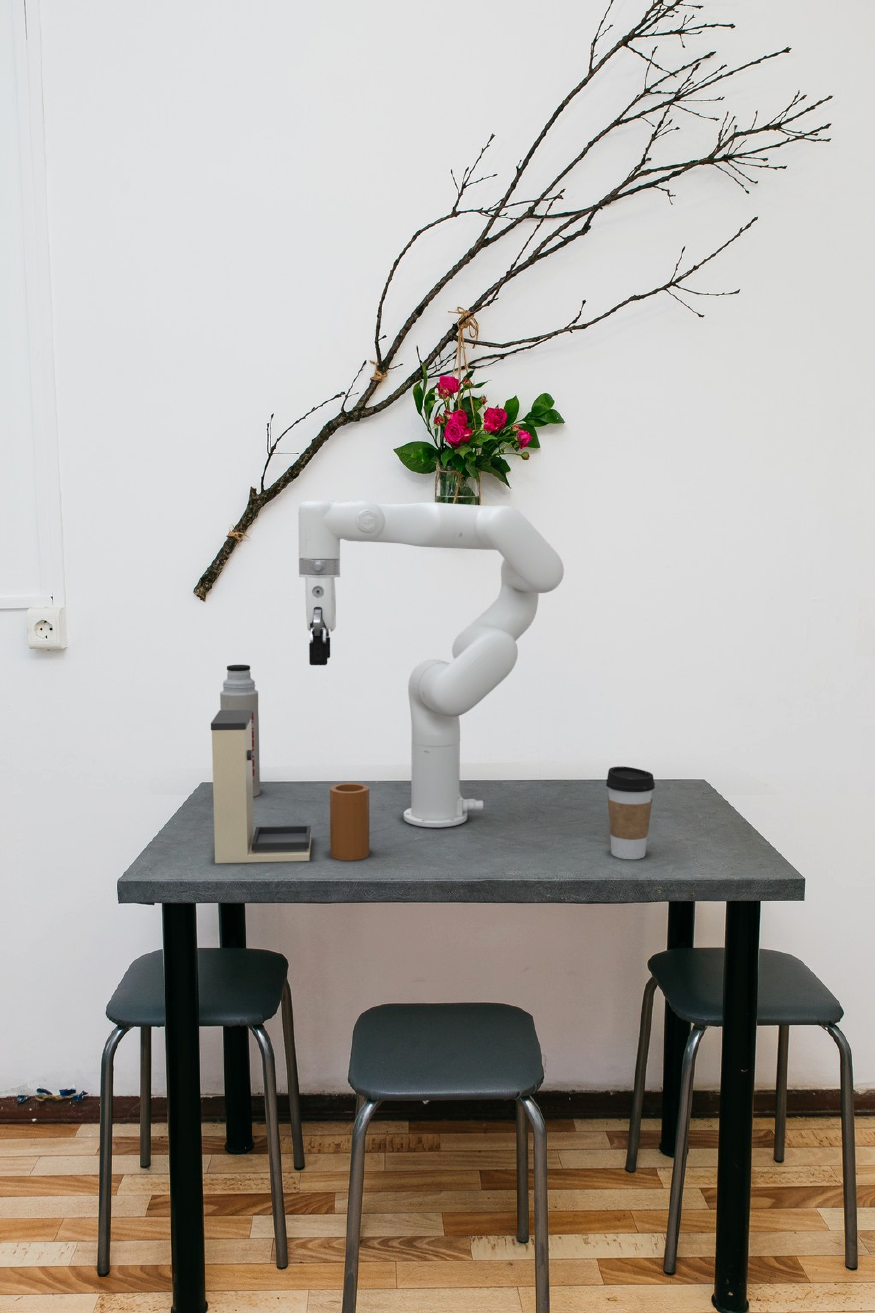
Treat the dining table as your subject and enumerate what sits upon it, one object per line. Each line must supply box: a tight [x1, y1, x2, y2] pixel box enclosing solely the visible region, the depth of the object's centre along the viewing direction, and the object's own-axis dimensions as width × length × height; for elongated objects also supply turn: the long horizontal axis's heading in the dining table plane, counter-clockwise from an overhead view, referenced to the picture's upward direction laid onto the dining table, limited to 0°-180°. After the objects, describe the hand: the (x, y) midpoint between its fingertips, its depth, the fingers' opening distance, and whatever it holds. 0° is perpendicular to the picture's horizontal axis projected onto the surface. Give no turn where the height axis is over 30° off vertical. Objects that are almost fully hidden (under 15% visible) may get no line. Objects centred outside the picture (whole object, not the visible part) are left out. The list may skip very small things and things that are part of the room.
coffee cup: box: [605, 765, 656, 860], centre depth 174 cm, size 8×8×15 cm
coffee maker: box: [210, 709, 312, 864], centre depth 174 cm, size 16×12×24 cm
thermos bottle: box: [219, 664, 261, 798], centre depth 212 cm, size 8×8×28 cm
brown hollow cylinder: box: [329, 782, 370, 861], centre depth 174 cm, size 7×7×12 cm
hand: (320, 661), depth 184 cm, fingers open, 9 cm apart
